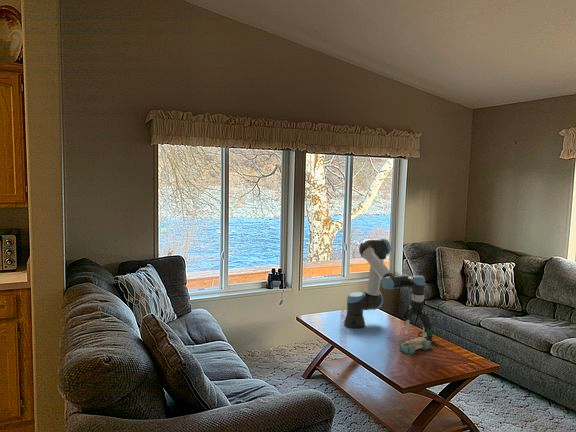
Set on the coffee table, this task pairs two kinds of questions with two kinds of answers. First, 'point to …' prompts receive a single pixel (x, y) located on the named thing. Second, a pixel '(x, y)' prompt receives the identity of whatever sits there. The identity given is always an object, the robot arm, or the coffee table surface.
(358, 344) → the coffee table surface
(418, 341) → the beige long bar
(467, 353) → the coffee table surface
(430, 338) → the binoculars
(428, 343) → the cap
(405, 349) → the cap
